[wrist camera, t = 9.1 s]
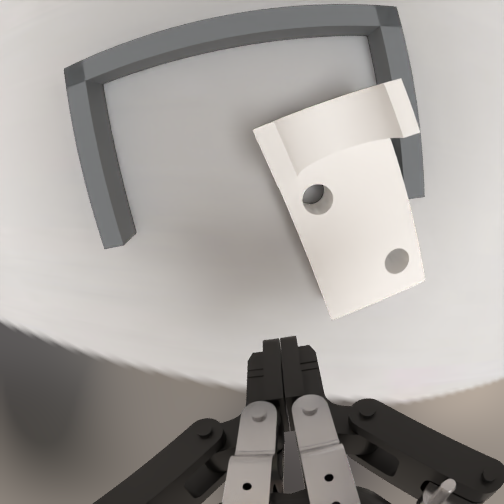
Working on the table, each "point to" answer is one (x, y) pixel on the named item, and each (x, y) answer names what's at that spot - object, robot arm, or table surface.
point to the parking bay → (212, 39)
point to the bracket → (349, 193)
